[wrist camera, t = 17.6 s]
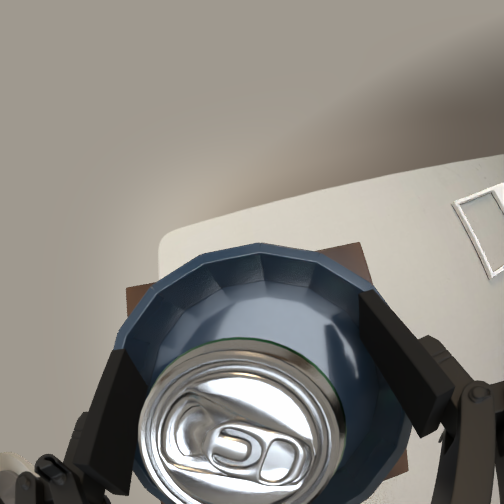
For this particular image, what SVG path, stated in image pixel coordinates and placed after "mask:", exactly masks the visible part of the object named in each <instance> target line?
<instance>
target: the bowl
mask: <svg viewBox="0 0 504 504" xmlns="http://www.w3.org/2000/svg"><path fill="white" fill-rule="evenodd" d="M371 289H373V290H374V291H375V292H376V293H377V294H378V295H379V296H380V297H381V298H382V296H381V295H380V293H379V292H378V291H377V289H376V288H375V287H374V285H372V284H371V283H370V282H368V281H367V280H365V279H363V278H362V277H360V276H359V275H357V274H355V273H354V272H352V271H350V270H349V269H347V268H345V267H344V266H342V265H341V264H339V263H337V262H336V261H334V260H332V259H331V258H329V257H327V256H326V255H324V254H322V253H319V252H314V251H309V250H303V249H297V248H291V247H285V246H279V245H273V244H267V243H254V244H249V245H244V246H239V247H234V248H229V249H224V250H219V251H214V252H209V253H204V254H202V255H199V256H197V257H195V258H194V259H192V260H191V261H189V262H187V263H186V264H184V265H183V266H181V267H180V268H178V269H176V270H175V271H173V272H172V273H170V274H169V275H167V276H165V277H164V278H162V279H161V280H159V281H158V282H156V283H154V284H153V285H152V286H151V287H150V288H149V289H148V291H147V292H146V293H145V295H144V296H143V297H142V299H141V300H140V301H139V303H138V304H137V306H136V307H135V308H134V310H133V311H132V312H131V314H130V315H129V317H128V318H127V319H126V321H125V322H124V324H123V325H122V327H121V328H120V329H119V332H118V333H117V337H116V341H115V345H114V349H113V350H118V349H124V348H125V349H126V351H127V353H128V355H129V356H130V358H131V360H132V361H133V363H134V365H135V366H136V368H137V370H138V371H139V373H140V374H141V376H142V378H143V379H144V381H145V382H146V384H147V386H148V389H147V394H146V399H147V397H148V395H149V392H150V390H151V388H152V386H153V384H154V383H155V381H156V379H157V378H158V376H159V375H160V374H161V373H162V371H163V370H164V369H165V368H166V367H167V366H168V365H169V364H170V363H171V362H172V361H174V360H175V359H176V358H177V357H178V356H180V355H181V354H183V353H185V352H186V351H188V350H190V349H191V348H194V347H196V346H198V345H201V344H203V343H206V342H209V341H214V340H218V339H222V338H232V337H250V338H259V339H264V340H269V341H273V342H276V343H279V344H282V345H284V346H287V347H289V348H291V349H293V350H295V351H297V352H299V353H301V354H302V355H304V356H305V357H306V358H308V359H309V360H310V361H312V362H313V363H314V364H315V365H316V366H317V367H318V368H319V369H320V370H321V371H322V372H323V373H324V374H325V375H326V376H327V377H328V379H329V380H330V381H331V383H332V384H333V386H334V387H335V389H336V391H337V393H338V395H339V397H340V399H341V401H342V405H343V408H344V412H345V416H346V426H347V436H346V446H345V449H344V453H343V456H342V460H341V462H340V464H339V466H338V468H337V470H336V472H335V474H334V475H333V477H332V478H331V479H330V481H329V483H328V484H327V486H326V487H325V489H324V490H323V491H322V492H321V494H320V495H319V496H318V497H317V498H316V499H315V500H314V501H313V502H312V503H311V504H360V503H362V502H363V501H365V500H367V499H368V498H369V497H370V496H371V495H372V494H373V493H374V491H375V490H376V489H377V488H378V487H379V485H380V484H381V483H382V482H383V480H384V479H385V478H386V476H387V475H388V474H389V472H390V471H391V470H392V468H393V467H394V466H395V464H396V463H397V461H398V460H399V459H400V457H401V456H402V454H403V453H404V451H405V449H406V448H407V444H408V441H409V437H410V433H411V429H412V423H411V422H410V420H409V418H408V416H407V415H406V413H405V411H404V410H403V408H402V406H401V405H400V403H399V401H398V400H397V398H396V396H395V395H394V393H393V391H392V390H391V388H390V386H389V385H388V383H387V381H386V380H385V378H384V377H383V375H382V373H381V372H380V370H379V368H378V367H377V365H376V364H375V362H374V360H373V359H372V357H371V356H370V354H369V352H368V351H367V349H366V348H365V346H364V345H363V343H362V341H361V340H360V335H359V297H358V294H359V293H362V292H365V291H368V290H371ZM382 300H383V301H384V302H385V300H384V299H383V298H382ZM385 303H386V302H385ZM386 304H387V303H386ZM387 305H388V304H387ZM146 399H145V401H146ZM133 472H134V473H135V475H136V476H137V477H138V479H139V480H140V482H141V483H142V485H143V486H144V488H146V489H147V491H149V492H150V493H151V494H152V495H154V496H155V497H156V498H158V499H159V500H160V501H162V502H163V503H165V504H174V503H173V502H171V501H170V500H169V499H168V498H167V497H166V496H165V495H164V494H163V493H162V492H161V491H160V490H159V489H158V487H157V486H156V485H155V483H154V482H153V480H152V479H151V477H150V476H149V474H148V472H147V470H146V468H145V466H144V463H143V460H142V457H141V453H140V448H139V442H138V440H137V445H136V451H135V457H134V463H133Z"/></svg>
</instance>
